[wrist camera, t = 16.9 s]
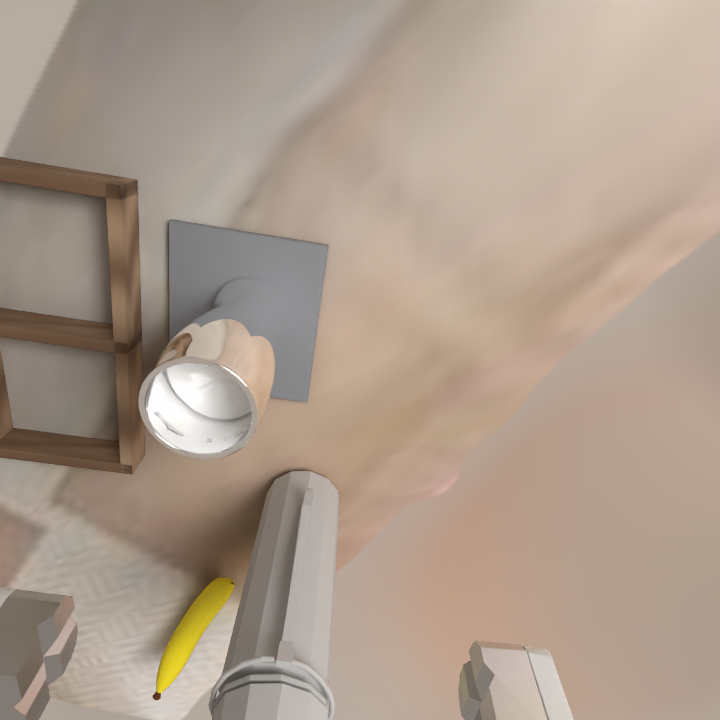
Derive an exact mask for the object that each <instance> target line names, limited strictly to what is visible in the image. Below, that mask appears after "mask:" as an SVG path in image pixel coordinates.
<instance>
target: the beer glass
mask: <svg viewBox="0 0 720 720" xmlns="http://www.w3.org/2000/svg"><path fill="white" fill-rule="evenodd" d="M287 324H288V309H287V306H286V303H285V301H284V299H283V297H282V296H281V294H280V293H279V292H278V291H277V290H276V289H275V288H274V287H273V286H271V285H270V284H268V283H266V282H264V281H262V280H258V279H254V278H241V279H237V280H234V281H231V282H229V283H228V284H226V285H225V286H223V287H222V288H221V289H220V291H219V292H218V293H217V295H216V297H215V299H214V302H213V306H212V309H211V310H210V311H208V312H206V313H204V314H203V315H201V316H199V317H198V318H196V319H195V320H193V321H192V322H190V323H189V324H188V325H186V326H185V327H184V328H183V329H182V330H181V331H180V332H179V333H178V334H177V335H176V336H175V337H174V338H173V339H172V340H171V341H170V342H169V344H168V345H167V346H166V348H165V349H164V351H163V352H162V353H161V355H160V356H159V358H158V360H157V361H156V363H155V365H154V366H153V368H152V370H151V372H150V373H149V375H148V376H147V377H146V379H145V380H144V382H143V384H142V386H141V389H140V392H139V399H138V404H139V411H140V415H141V418H142V420H143V422H144V424H145V426H146V428H147V429H148V431H149V432H150V433H151V434H152V436H153V437H154V438H155V439H156V440H157V441H158V442H160V443H161V444H162V445H164V446H165V447H167V448H168V449H170V450H172V451H174V452H176V453H178V454H180V455H183V456H186V457H190V458H196V459H217V458H222V457H226V456H228V455H231V454H233V453H235V452H237V451H238V450H240V449H241V448H243V447H244V446H245V445H246V444H247V443H248V442H249V440H250V439H251V438H252V436H253V434H254V432H255V430H256V427H257V424H258V422H259V420H260V419H261V417H262V414H263V412H264V410H265V408H266V406H267V403H268V401H269V398H270V395H271V393H272V389H273V385H274V381H275V376H276V364H277V358H276V342H277V341H278V340H279V339H280V338H281V337H282V335H283V334H284V332H285V330H286V327H287Z"/></svg>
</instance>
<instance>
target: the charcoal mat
mask: <svg viewBox="0 0 720 720" xmlns="http://www.w3.org/2000/svg"><path fill="white" fill-rule="evenodd" d="M327 251H328V245H327V244H321V243H314V242H308V241H302V240H296V239H290V238H283V237H277V236H271V235H265V234H259V233H252V232H246V231H240V230H234V229H227V228H221V227H215V226H209V225H203V224H196V223H190V222H184V221H178V220H170V221H169V342H170V341H171V340H172V339H173V338H174V337H175V336H176V335H177V334H178V333H179V332H180V331H181V330H182V329H183V328H184V327H185V326H186V325H188V324H189V323H190V322H192V321H193V320H195V319H196V318H198V317H199V316H201V315H203V314H204V313H206V312H208V311H210V310H211V309H212V306H213V302H214V299H215V297H216V295H217V293H218V292H219V291H220V289H221V288H222V287H223V286H225V285H226V284H228V283H229V282H231V281H234V280H237V279H241V278H254V279H258V280H262V281H264V282H266V283H268V284H270V285H271V286H273V287H274V288H275V289H276V290H277V291H278V292H279V293H280V294H281V296H282V297H283V299H284V301H285V303H286V306H287V309H288V324H287V327H286V330H285V332H284V334H283V335H282V337H281V338H280V339H279V340H278V341H277V342H276V358H277V364H276V376H275V381H274V385H273V389H272V393H271V395H270V397H273V398H280V399H287V400H294V401H301V402H307V399H308V392H309V385H310V377H311V370H312V362H313V355H314V347H315V340H316V333H317V325H318V318H319V310H320V303H321V295H322V288H323V281H324V273H325V266H326V258H327Z"/></svg>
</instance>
